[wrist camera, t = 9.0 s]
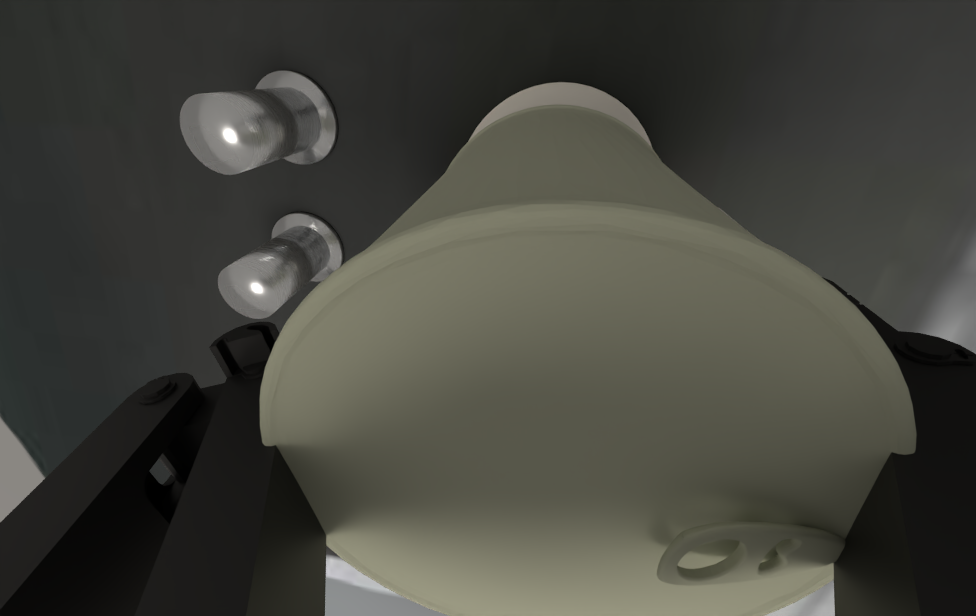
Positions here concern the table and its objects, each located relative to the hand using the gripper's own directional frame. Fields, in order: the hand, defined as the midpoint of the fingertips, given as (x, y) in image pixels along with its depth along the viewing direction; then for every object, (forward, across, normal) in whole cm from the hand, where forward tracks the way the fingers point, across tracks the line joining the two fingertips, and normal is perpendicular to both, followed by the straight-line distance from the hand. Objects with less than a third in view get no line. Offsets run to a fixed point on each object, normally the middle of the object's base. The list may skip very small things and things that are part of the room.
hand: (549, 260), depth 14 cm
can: (+3, 0, 0) cm, 3 cm away
